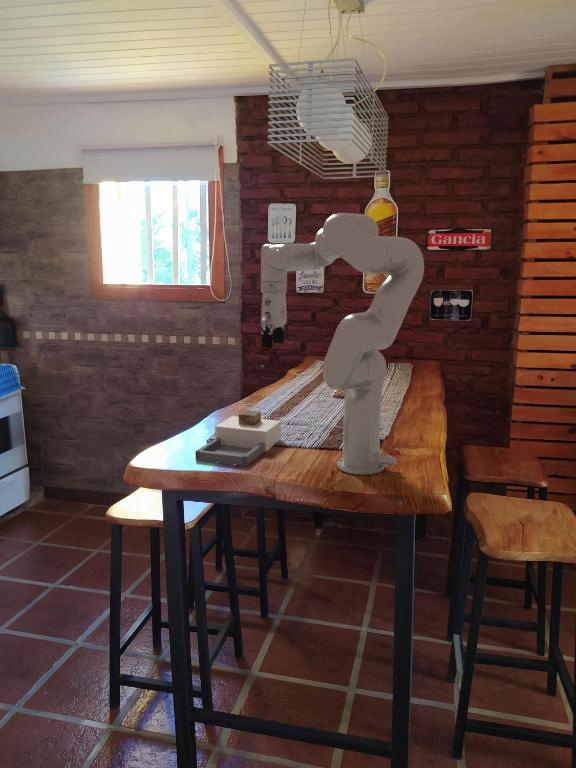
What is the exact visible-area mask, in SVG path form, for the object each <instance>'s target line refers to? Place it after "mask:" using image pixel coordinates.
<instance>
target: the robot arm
mask: <svg viewBox="0 0 576 768" xmlns="http://www.w3.org/2000/svg"><path fill="white" fill-rule="evenodd" d="M379 233H380V232H379V226H378V224H377V222H376V220H375V219H374V218H372V217H371V216H369V215H366V214H363V213H350V212H349V213H347V212H337V213H334V214H332V215H331V216H329V217H328V218H327V219H326V221H325V222H324V225H323V227H322V228H320V229H319V230H318V231H317V233H316V235H315V239H314V242H311V243H265V244H263V245H262V246H261V252H260V253H261V254H260V255H261V257H260V259H261V260H260V264H261V266H260V293H262V299H261V310H260V311H261V316H260V317H261V318H260V325H261V348H262V349H273V347H274V344H284V337H285V325H286V324H287V317H288V316H287V315H288V314H287V313H288V311H287V295H286V294H287V292H288V290H287V287H288V285H287V284H288V272H308V271H314V270H317V269H320V268H324V267H326V266H329V265H331V264H332V263H334V262H335V260H336V259H340V258H341V259H343V261H345V262H347V263H348V265H351V267H352V268H354V269H355V270H357V271H358V272H361V273H364V274H368V275H375V274H376V275H378V274H383V275H384V274H388V277H387V278H386V279H385V280H384V282H382V283H381V285H380V286H379V288H378V289H377V291H376V292H375V295H374V298H373V299H372V302H371V304H370V306H369V307H368V310H366V311H364V312H357V313H352V314H349V315H347V316H345V317H344V318H343V319H342V320H341V321H340V322H339V324H338V325H337V327H336V329H335V332H334V334H333V336H332V339H331V342H330V345H329V347H328V349H327V352H326V355H325V358H324V361H323V364H322V378H323V380H324V383H325V384H326V386H328V388H330V389H331V390H335V391H345V390H346V392H345V395H344V401H343V423H342V424H343V426H342V427H343V428H342V429H343V432H342V433H343V434H342V435H343V436H342V457H340V458H338V459H337V461H336V467H337V469H338V470H340V471H341V472H344V473H347V474H351V475H358V476H359V475H360V476H362V475H364V476H367V475H374V474H379V473H380V472H383V471H384V470H385V468H386V467H385V466H386V465H387V466H394V467H395V466H396V462H397V461H396V460H397V459H396V458H395V457H393V455H385V453H383V449H382V448H380V443H381V442H380V441H381V440H380V439H381V413H382V396H383V389H384V388H383V387H384V384H385V379H386V373H387V362H386V360H385V357H384V355H383V354H382V353H381V352H380V350H384V349H385V350H386V349H387V348H389V347H390V346H392V345H393V343H394V341H395V339H396V337H397V335H398V332H399V330H400V329H401V326H402V323H403V321H404V318H405V316H406V314H407V312H408V310H409V307H410V306H411V303H412V301H413V299H414V297H415V295H416V294H417V292H418V290H419V287H420V285H421V283H422V281H423V277H424V272H425V271H424V270H425V260H424V257H423V256H424V255H423V253H422V251H421V248H420V247H419V245H417V243H416V242H414V241H413V240H411V239H409V238H406V237H402V236H389V235H388V236H386V235H385V236H383V235H381V236H379Z"/></svg>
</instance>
